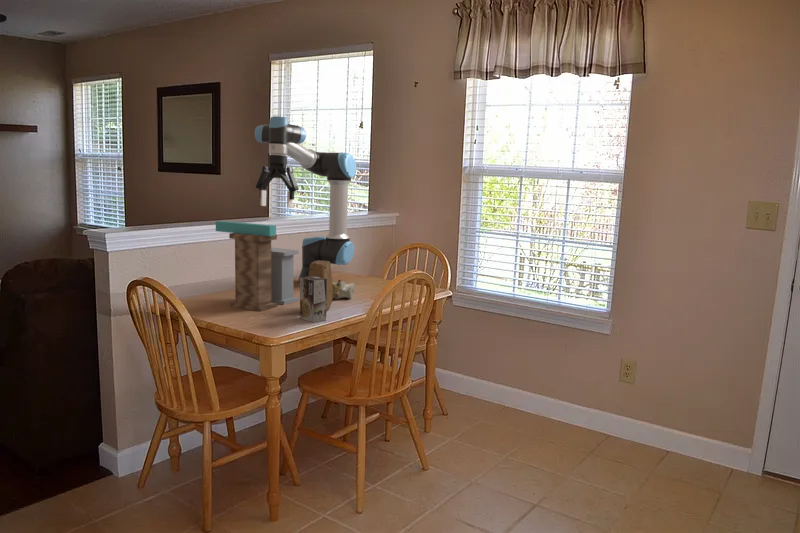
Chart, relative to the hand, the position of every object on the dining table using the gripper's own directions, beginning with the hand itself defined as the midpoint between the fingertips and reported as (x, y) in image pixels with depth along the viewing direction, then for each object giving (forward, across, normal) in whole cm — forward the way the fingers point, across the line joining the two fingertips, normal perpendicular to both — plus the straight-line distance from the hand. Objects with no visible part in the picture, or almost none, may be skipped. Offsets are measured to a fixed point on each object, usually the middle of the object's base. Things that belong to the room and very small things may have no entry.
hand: (276, 206), depth 257 cm
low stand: (+40, -3, +6) cm, 41 cm away
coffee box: (+42, +30, -14) cm, 53 cm away
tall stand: (+41, -3, -9) cm, 42 cm away
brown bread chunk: (+41, +23, +2) cm, 47 cm away
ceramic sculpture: (+40, +17, +24) cm, 50 cm away
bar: (+11, -7, -11) cm, 17 cm away
